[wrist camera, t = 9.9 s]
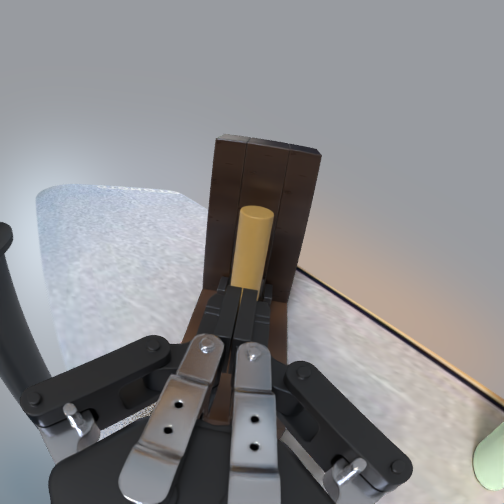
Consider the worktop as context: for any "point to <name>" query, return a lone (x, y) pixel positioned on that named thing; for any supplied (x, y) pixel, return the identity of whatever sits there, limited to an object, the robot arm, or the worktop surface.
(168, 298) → the worktop surface
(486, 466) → the candle
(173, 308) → the worktop surface
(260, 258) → the bolt
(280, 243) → the latch
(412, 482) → the worktop surface
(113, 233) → the worktop surface
